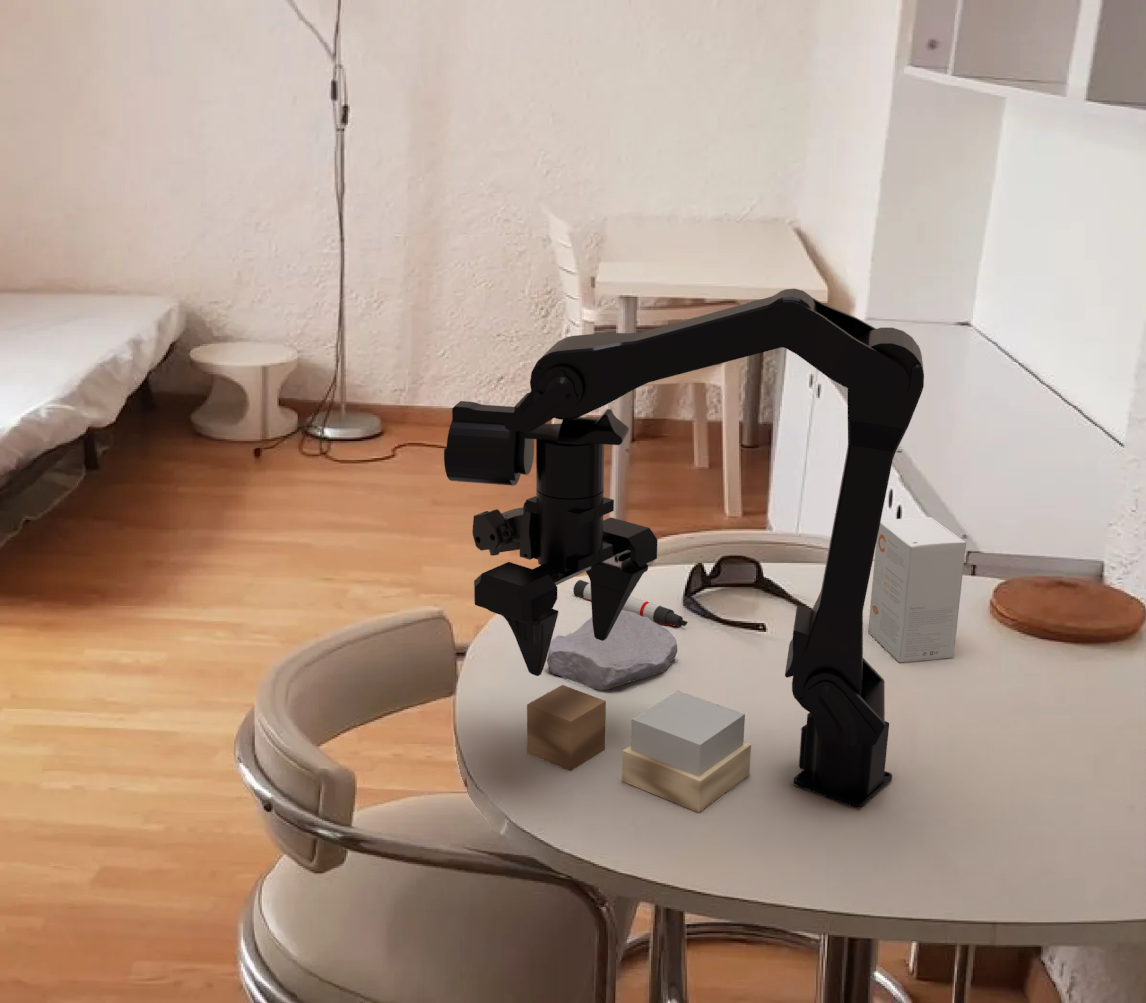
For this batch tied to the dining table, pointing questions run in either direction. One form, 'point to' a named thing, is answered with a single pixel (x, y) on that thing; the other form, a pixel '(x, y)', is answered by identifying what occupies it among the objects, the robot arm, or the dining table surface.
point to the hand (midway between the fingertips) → (568, 656)
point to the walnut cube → (566, 727)
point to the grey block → (687, 732)
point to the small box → (916, 589)
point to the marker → (637, 607)
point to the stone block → (613, 652)
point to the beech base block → (686, 778)
